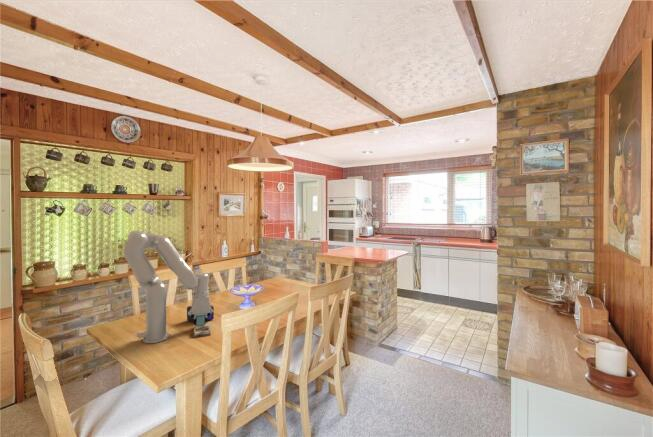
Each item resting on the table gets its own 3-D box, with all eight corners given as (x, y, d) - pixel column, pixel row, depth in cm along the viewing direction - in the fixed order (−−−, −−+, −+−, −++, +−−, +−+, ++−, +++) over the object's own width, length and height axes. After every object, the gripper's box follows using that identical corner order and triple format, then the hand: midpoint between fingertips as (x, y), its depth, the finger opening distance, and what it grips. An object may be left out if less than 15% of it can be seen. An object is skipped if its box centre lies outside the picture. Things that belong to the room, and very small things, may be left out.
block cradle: (193, 337, 160) (193, 333, 160) (193, 331, 168) (193, 327, 168) (210, 335, 164) (210, 330, 164) (210, 329, 172) (210, 324, 172)
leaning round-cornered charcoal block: (184, 323, 180) (184, 308, 180) (187, 320, 185) (187, 305, 185) (212, 322, 183) (212, 307, 182) (214, 319, 187) (213, 304, 187)
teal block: (196, 327, 171) (196, 317, 171) (196, 324, 175) (196, 314, 175) (204, 326, 173) (204, 316, 173) (204, 323, 177) (204, 313, 177)
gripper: (185, 296, 167) (184, 328, 167) (216, 294, 173) (215, 325, 174) (186, 293, 174) (185, 323, 174) (216, 291, 180) (215, 320, 181)
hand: (200, 324), depth 174 cm, fingers closed on teal block, 4 cm apart
